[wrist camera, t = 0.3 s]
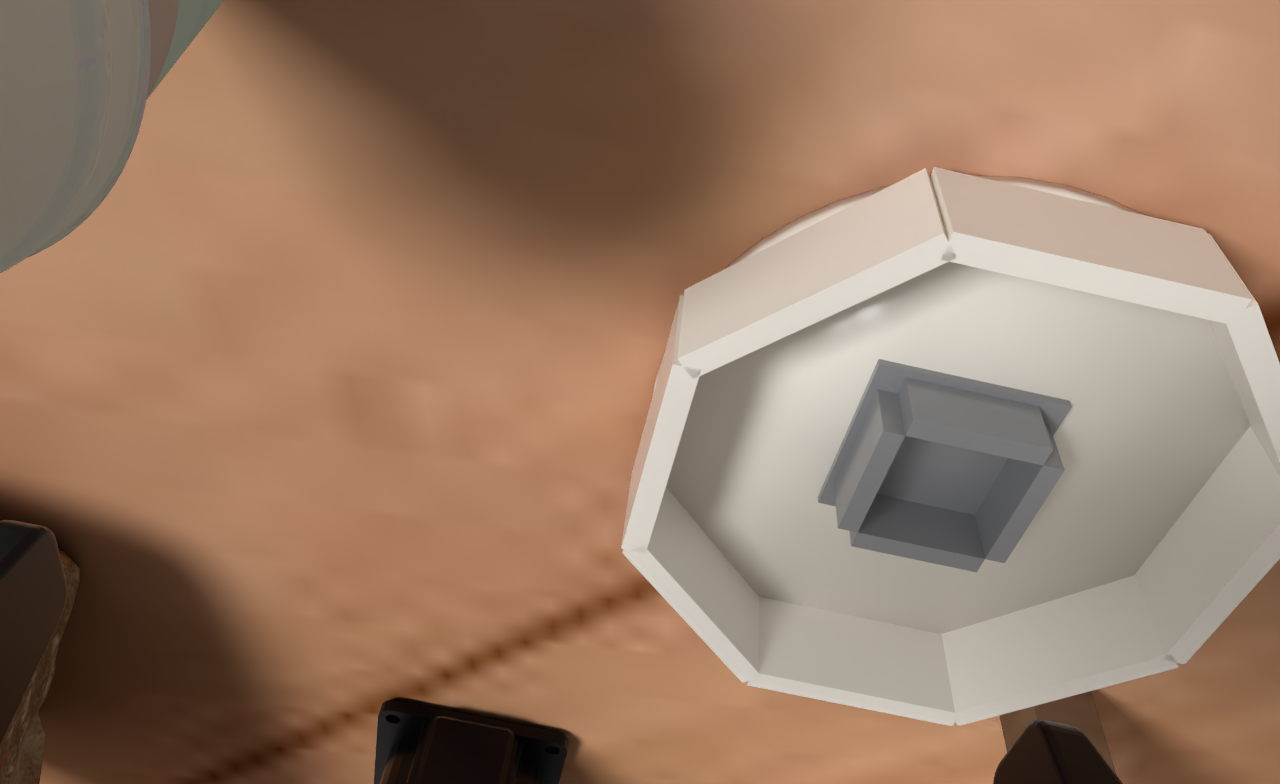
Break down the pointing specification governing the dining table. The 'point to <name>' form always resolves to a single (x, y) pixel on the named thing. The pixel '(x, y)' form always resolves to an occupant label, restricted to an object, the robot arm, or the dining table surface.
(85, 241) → the dining table surface
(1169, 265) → the octagonal white tray
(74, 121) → the coffee cup
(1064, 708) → the tall wooden post
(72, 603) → the tan rock
